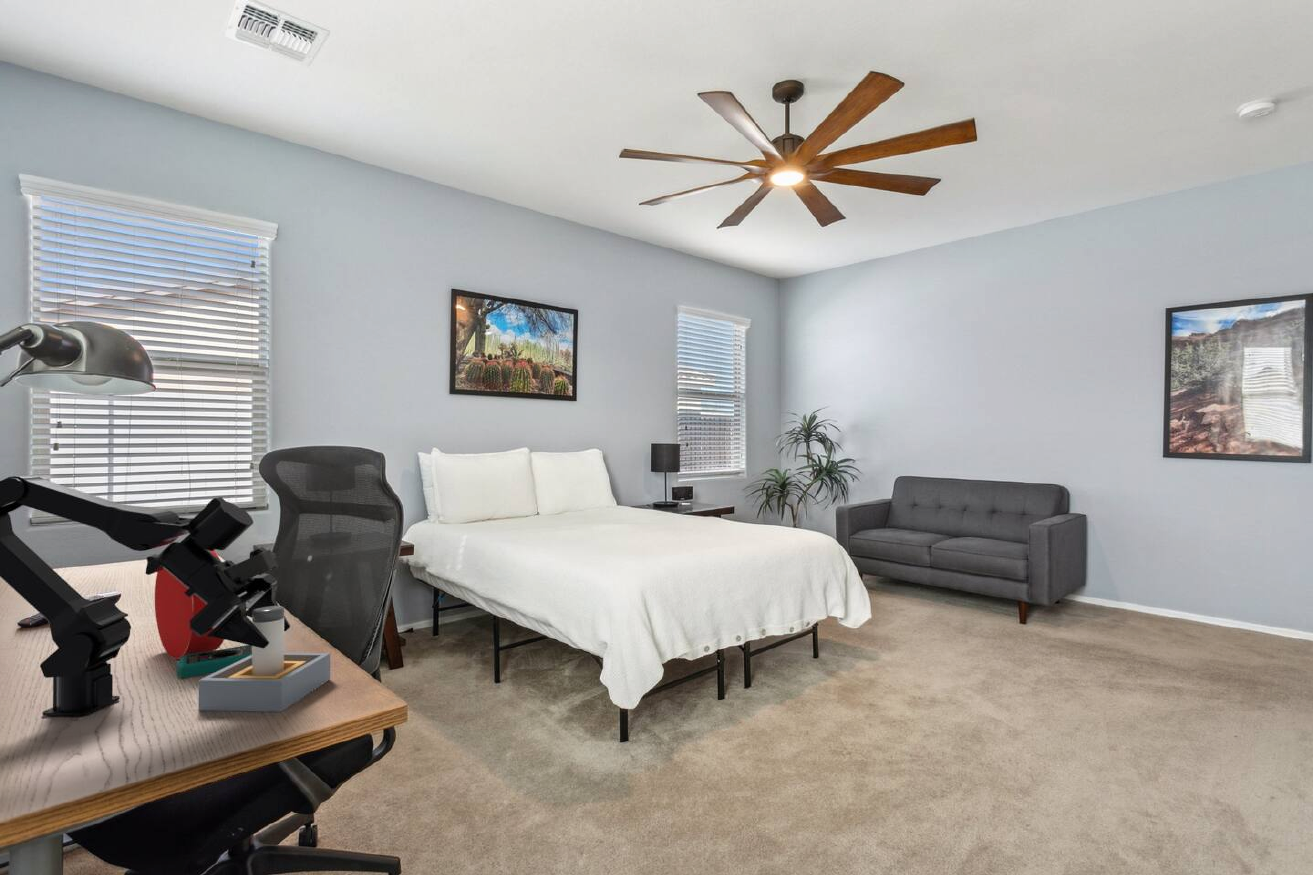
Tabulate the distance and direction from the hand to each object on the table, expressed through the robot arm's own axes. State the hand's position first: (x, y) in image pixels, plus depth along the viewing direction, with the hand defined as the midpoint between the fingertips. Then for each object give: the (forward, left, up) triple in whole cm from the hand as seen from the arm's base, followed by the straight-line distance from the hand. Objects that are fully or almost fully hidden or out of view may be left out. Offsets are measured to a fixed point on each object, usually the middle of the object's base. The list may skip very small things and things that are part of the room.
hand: (277, 637), depth 103 cm
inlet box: (-1, 0, -9) cm, 9 cm away
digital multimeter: (-18, +13, -10) cm, 24 cm away
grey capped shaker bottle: (-1, 0, -8) cm, 8 cm away
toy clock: (-29, +18, -9) cm, 36 cm away
